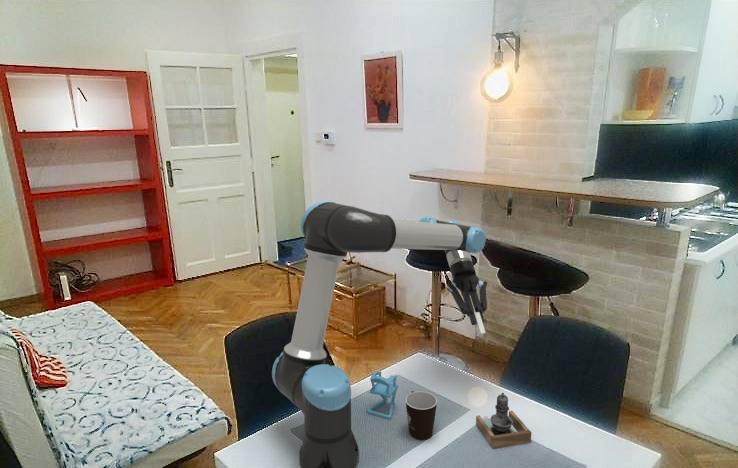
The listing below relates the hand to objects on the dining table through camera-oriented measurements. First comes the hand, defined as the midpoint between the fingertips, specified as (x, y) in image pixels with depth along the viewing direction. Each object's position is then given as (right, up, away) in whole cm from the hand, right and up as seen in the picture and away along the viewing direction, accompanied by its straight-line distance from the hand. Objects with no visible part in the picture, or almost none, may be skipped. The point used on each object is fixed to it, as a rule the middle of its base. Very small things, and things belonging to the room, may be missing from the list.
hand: (481, 334), depth 132 cm
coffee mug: (-19, -25, -7) cm, 32 cm away
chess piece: (+3, -25, -8) cm, 27 cm away
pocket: (+3, -25, -9) cm, 27 cm away
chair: (-29, -23, +3) cm, 37 cm away
